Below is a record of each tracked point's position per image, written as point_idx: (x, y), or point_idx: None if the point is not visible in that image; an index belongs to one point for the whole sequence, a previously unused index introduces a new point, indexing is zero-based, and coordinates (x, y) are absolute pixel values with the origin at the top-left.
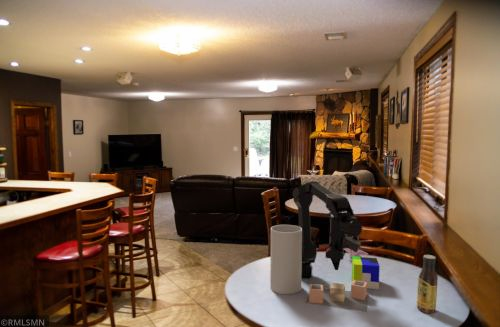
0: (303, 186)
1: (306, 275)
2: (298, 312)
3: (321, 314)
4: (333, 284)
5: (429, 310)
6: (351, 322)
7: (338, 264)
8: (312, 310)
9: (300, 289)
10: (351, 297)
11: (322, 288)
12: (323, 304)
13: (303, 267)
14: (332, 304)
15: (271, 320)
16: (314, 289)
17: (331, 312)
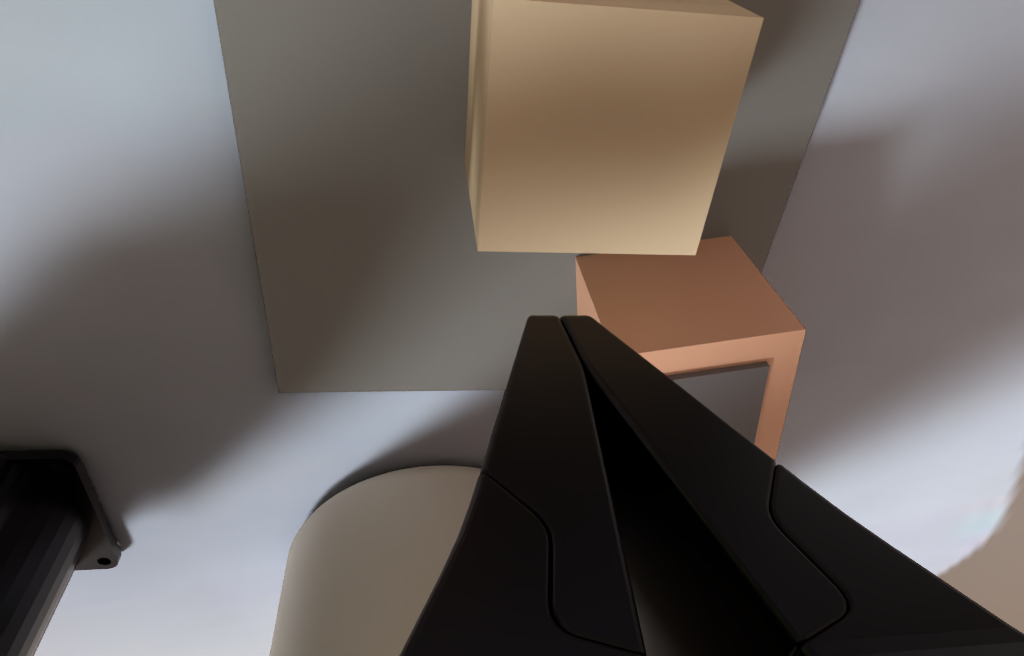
0: None
1: (43, 504)
2: (886, 392)
3: (952, 215)
4: (556, 220)
5: None
6: None
7: (722, 437)
8: (857, 302)
9: (456, 474)
10: None
11: (740, 345)
12: (756, 227)
13: (23, 621)
14: (753, 128)
15: (983, 502)
16: (776, 418)
17: (922, 119)
